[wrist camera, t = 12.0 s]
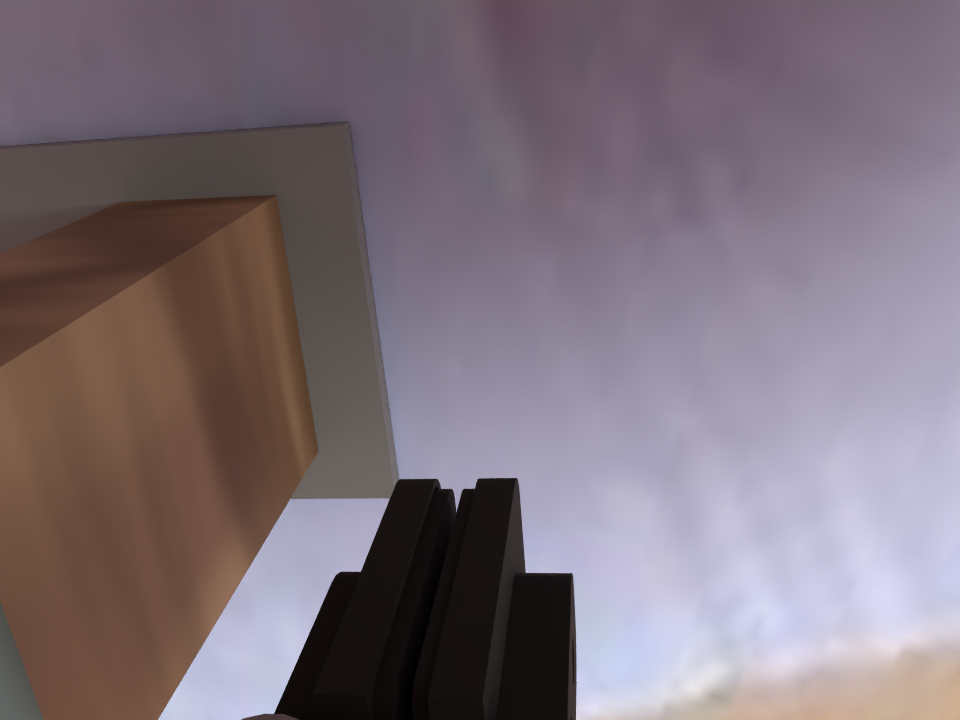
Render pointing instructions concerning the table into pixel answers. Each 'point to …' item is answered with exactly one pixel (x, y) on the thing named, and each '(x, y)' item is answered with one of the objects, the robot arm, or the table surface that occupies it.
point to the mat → (308, 243)
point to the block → (140, 445)
